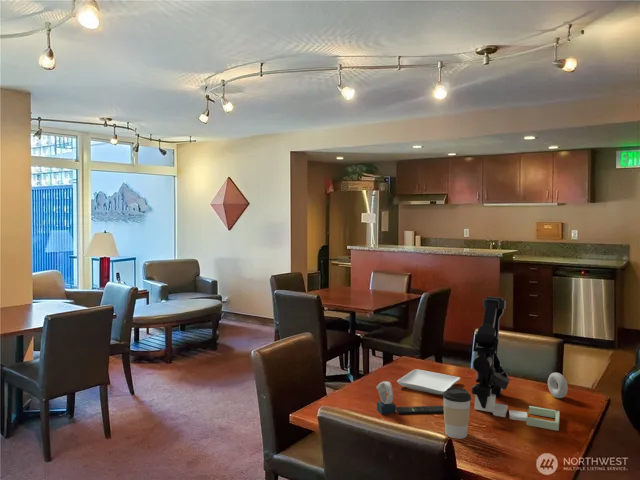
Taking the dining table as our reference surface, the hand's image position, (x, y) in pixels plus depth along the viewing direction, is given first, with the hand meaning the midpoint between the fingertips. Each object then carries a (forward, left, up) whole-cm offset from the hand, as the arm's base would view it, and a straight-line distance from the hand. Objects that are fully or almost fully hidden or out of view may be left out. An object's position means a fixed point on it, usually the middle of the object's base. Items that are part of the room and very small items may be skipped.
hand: (484, 406), depth 182 cm
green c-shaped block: (+20, 0, -2) cm, 20 cm away
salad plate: (-25, +17, -2) cm, 30 cm away
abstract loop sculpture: (-32, -18, -2) cm, 37 cm away
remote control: (-18, -10, -2) cm, 21 cm away
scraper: (+2, 0, -1) cm, 2 cm away
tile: (+12, 0, -2) cm, 12 cm away
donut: (+24, +28, -2) cm, 37 cm away
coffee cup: (-5, -25, -2) cm, 26 cm away
